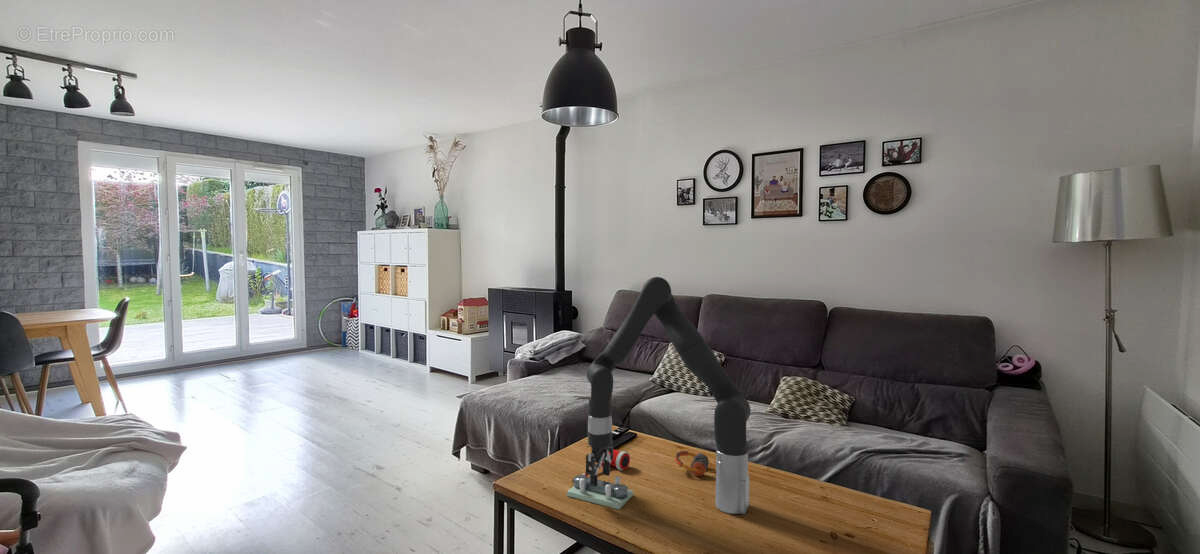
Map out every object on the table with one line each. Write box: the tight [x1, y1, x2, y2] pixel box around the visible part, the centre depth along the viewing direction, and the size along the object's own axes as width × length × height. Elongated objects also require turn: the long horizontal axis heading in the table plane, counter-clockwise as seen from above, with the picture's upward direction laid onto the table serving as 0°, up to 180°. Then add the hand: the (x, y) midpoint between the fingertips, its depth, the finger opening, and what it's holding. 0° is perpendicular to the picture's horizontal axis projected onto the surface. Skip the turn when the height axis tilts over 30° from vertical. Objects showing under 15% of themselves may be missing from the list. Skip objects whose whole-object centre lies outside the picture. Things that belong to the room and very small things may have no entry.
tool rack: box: [566, 475, 634, 510], centre depth 160 cm, size 18×10×6 cm, turn 62°
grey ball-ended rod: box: [573, 474, 629, 499], centre depth 160 cm, size 18×4×3 cm, turn 62°
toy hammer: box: [571, 448, 631, 484], centre depth 177 cm, size 23×12×6 cm, turn 139°
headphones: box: [675, 450, 716, 477], centre depth 177 cm, size 17×5×20 cm
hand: (600, 480), depth 160 cm, fingers open, 8 cm apart
